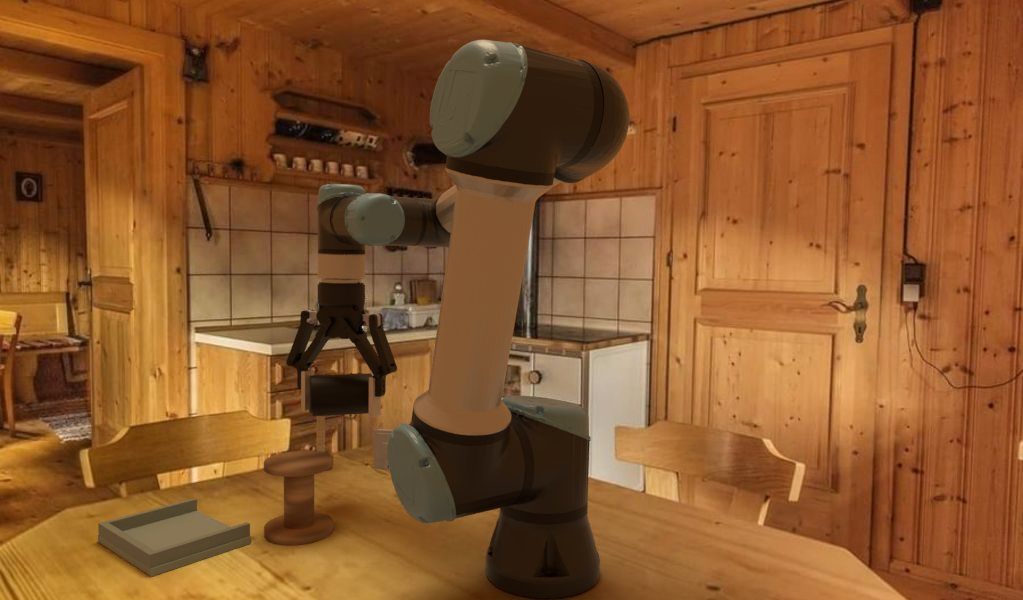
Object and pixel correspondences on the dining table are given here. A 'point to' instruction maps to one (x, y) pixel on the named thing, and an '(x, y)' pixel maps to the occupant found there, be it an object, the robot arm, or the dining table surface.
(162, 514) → the olive grey tray
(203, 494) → the dining table surface
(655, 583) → the dining table surface
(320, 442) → the toy lamp
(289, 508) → the bobbin spool
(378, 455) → the cassette
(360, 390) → the end cap
